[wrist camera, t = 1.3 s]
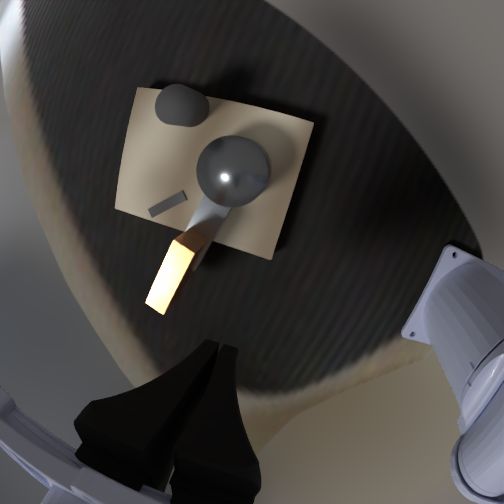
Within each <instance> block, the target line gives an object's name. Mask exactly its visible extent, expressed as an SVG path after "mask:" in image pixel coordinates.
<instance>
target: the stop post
mask: <svg viewBox="0 0 504 504" xmlns="http://www.w3.org/2000/svg"><path fill="white" fill-rule="evenodd" d="M209 108H210V107H209V102H208V99H207V98H206V96H205V95H203V94H202V93H200V92H198V91H196V90H193V89H191V88H189V87H187V86H185V85H182V84H172V85H169V86H167V87H166V88H164V89H163V90H162V91H161V92H160V93H159V95H158V96H157V99H156V102H155V112H156V115H157V117H158V118H159V120H160V121H162V122H163V123H165V124H168V125H176V126H184V127H195V126H198V125H200V124H201V123H202V122H203V121H204V120H205V119H206V118H207V116H208V113H209Z"/></svg>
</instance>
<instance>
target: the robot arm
mask: <svg viewBox="0 0 504 504" xmlns="http://www.w3.org/2000/svg"><path fill="white" fill-rule="evenodd" d="M454 252H456V254H455V256H453V257H452V255H453V253H454ZM412 332H414V333H413V334H411V333H412ZM401 334H402V336H403V337H404V338H407V339H411V340H415V341H419V342H422V343H426V344H430V345H432V346H433V348H434V350H435V353H436V354H437V357H438V359H439V361H440V363H441V365H442V367H443V369H444V372H445V374H446V376H447V378H448V381H449V383H450V385H451V388H452V390H453V392H454V395H455V397H456V400H457V402H458V405H459V407H460V409H461V415H460V417H459V419H458V420H457V423H458V426H459V429H460V432H461V436H460V437H459V439H458V440H457V442H456V443H455V445H454V447H453V450H452V453H451V459H450V469H451V474H452V477H453V481H454V483H455V485H456V487H457V488H458V489H459V491H460V492H461V493H462V494H463V495H464V496H465V497H466V498H468V499H469V500H471V501H473V502H476V503H478V504H504V271H502V270H500V269H499V268H497V267H495V266H493V265H491V264H489V263H487V262H485V261H483V260H481V259H479V258H477V257H475V256H473V255H471V254H469V253H467V252H465V251H463V250H461V249H459V248H457V247H455V246H453V245H446V246H445V247H444V249H443V251H442V254H441V256H440V258H439V260H438V262H437V264H436V267H435V269H434V271H433V273H432V275H431V277H430V279H429V281H428V283H427V285H426V287H425V289H424V291H423V293H422V295H421V296H420V298H419V300H418V302H417V304H416V306H415V308H414V309H413V311H412V313H411V315H410V316H409V318H408V320H407V322H406V323H405V325H404V327H403V328H402V330H401ZM218 348H219V343H218V342H214V341H211V340H204V341H203V342H202V343H201V344H200V345H199V346H198V347H197V348H196V349H195V350H194V351H193V352H192V353H191V354H189V355H188V356H187V357H186V358H185V359H183V360H182V361H181V362H180V363H178V364H177V365H176V366H174V367H173V368H171V369H170V370H168V371H167V372H165V373H164V374H162V375H161V376H159V377H157V378H155V379H154V380H152V381H150V382H148V383H146V384H144V385H142V386H140V387H137V388H135V389H133V390H130V391H127V392H124V393H122V394H118V395H115V396H112V397H108V398H104V399H99V400H94V401H91V402H90V403H89V404H88V405H87V406H86V407H85V408H84V409H83V410H82V411H81V413H80V414H79V416H78V417H77V418H76V419H75V421H74V426H75V429H76V431H77V433H78V435H79V437H80V439H81V440H82V444H81V445H80V447H79V448H78V449H77V450H76V449H75V448H73V447H72V446H70V445H68V444H67V443H65V442H64V441H62V440H61V439H59V438H58V437H56V436H55V435H53V434H52V433H51V432H49V431H48V430H47V429H45V428H44V427H42V426H41V425H40V424H38V423H37V422H36V421H34V420H33V419H32V418H31V417H29V416H28V415H27V414H26V413H24V412H23V411H22V410H21V409H20V408H18V407H17V406H16V404H15V402H14V400H13V399H12V397H11V396H10V395H9V394H8V393H7V392H6V391H5V390H4V389H3V388H2V387H1V386H0V447H1V448H2V449H3V450H5V452H7V453H8V454H9V455H10V456H11V457H12V458H13V459H14V460H15V461H16V462H17V463H18V464H20V465H21V466H22V467H23V468H24V469H25V470H26V471H28V472H29V473H30V474H31V475H32V476H34V477H35V478H36V479H37V480H38V481H40V482H41V483H42V484H44V485H45V486H46V487H47V488H49V489H50V490H49V492H48V493H47V494H46V496H45V497H44V499H43V501H42V502H41V504H253V503H254V499H255V496H256V495H257V494H258V492H259V491H260V489H261V473H260V468H259V461H258V459H257V457H256V455H255V453H254V451H253V449H252V447H251V444H250V442H249V439H248V437H247V434H246V431H245V428H244V425H243V422H242V418H241V414H240V409H239V405H238V399H237V391H236V378H235V366H236V360H237V355H238V349H237V348H236V347H232V346H228V345H225V344H224V345H223V346H222V348H221V350H220V352H219V353H218ZM217 355H218V356H217ZM173 466H174V469H175V470H174V473H173V475H172V477H171V479H170V482H169V484H171V489H172V495H169V494H166V493H164V492H165V489H166V486H167V483H168V480H169V477H170V474H171V472H172V469H173Z"/></svg>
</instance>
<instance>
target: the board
mask: <svg viewBox="0 0 504 504" xmlns="http://www.w3.org/2000/svg"><path fill="white" fill-rule="evenodd" d="M161 91H162V90H160V89H150V88H139V87H138V88H137V92H136V96H135V100H134V104H133V108H132V112H131V116H130V121H129V125H128V130H127V135H126V140H125V145H124V150H123V156H122V161H121V167H120V174H119V180H118V187H117V195H116V203H115V209H118V210H121V211H124V212H127V213H130V214H133V215H136V216H139V217H142V218H145V219H148V220H151V221H154V222H157V223H160V224H163V225H166V226H169V227H172V228H175V229H178V230H181V231H184V232H185V231H186V229H187V227H188V225H189V223H190V221H191V219H192V217H193V215H194V213H195V211H196V209H197V207H198V205H199V203H200V201H201V200H202V198H203V196H204V193H203V191H202V190H201V188H200V186H199V184H198V181H197V175H196V167H197V162H198V158H199V156H200V154H201V152H202V151H203V149H204V148H205V147H206V146H207V145H208V144H209V143H210V142H212V141H213V140H215V139H217V138H219V137H222V136H228V135H236V136H241V137H247V138H250V139H252V140H254V141H256V142H258V143H259V144H260V145H261V146H262V147H263V148H264V149H265V150H266V152H267V153H268V155H269V158H270V161H271V166H272V173H271V178H270V181H269V183H268V185H267V187H266V188H265V190H264V191H263V192H262V193H261V194H260V195H259V196H258V197H257V198H256V199H255V200H253V201H252V202H250V203H249V204H246V205H244V206H241V207H233V208H232V210H231V211H230V213H229V215H228V217H227V218H226V220H225V222H224V224H223V225H222V227H221V229H220V231H219V232H218V234H217V236H216V238H215V239H214V241H215V242H218V243H221V244H224V245H227V246H230V247H233V248H236V249H239V250H242V251H245V252H248V253H251V254H254V255H257V256H260V257H263V258H266V259H269V260H271V259H272V256H273V253H274V250H275V247H276V244H277V240H278V237H279V234H280V231H281V228H282V225H283V222H284V219H285V216H286V212H287V209H288V206H289V203H290V200H291V197H292V194H293V190H294V187H295V184H296V181H297V178H298V174H299V171H300V168H301V165H302V161H303V158H304V155H305V152H306V148H307V145H308V142H309V138H310V135H311V132H312V128H313V125H314V123H313V122H310V121H307V120H304V119H300V118H297V117H293V116H290V115H286V114H283V113H279V112H275V111H272V110H268V109H264V108H260V107H256V106H251V105H247V104H243V103H238V102H233V101H229V100H224V99H219V98H213V97H208V96H206V98H207V99H208V102H209V107H210V108H209V113H208V116H207V118H206V119H205V120H204V121H203V122H202V123H201V124H200V125H198V126H195V127H184V126H176V125H168V124H165V123H163V122H162V121H160V120H159V118H158V117H157V115H156V112H155V102H156V99H157V96H158V95H159V93H160V92H161Z"/></svg>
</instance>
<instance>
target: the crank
mask: <svg viewBox="0 0 504 504" xmlns="http://www.w3.org/2000/svg"><path fill="white" fill-rule="evenodd" d="M271 173H272V166H271V161H270V158H269V155H268V153H267V152H266V150H265V149H264V148H263V147H262V146H261V145H260V144H259V143H258V142H256V141H254V140H252V139H250V138H247V137H241V136H236V135H228V136H222V137H219V138H217V139H215V140H213V141H212V142H210V143H209V144H208V145H207V146H206V147H205V148H204V149H203V151H202V152H201V154H200V156H199V158H198V162H197V167H196V175H197V181H198V184H199V186H200V188H201V190H202V191H203V193H204V196H203V198H202V200H201V201H200V203H199V205H198V207H197V209H196V211H195V213H194V215H193V217H192V219H191V221H190V223H189V225H188V227H187V229H186V231H185V232H184V233H182V234H181V235H180V236H178V237H177V238H175V239H174V240H173V242H172V244H171V246H170V249H169V251H168V253H167V255H166V257H165V259H164V262H163V264H162V266H161V268H160V270H159V273H158V275H157V277H156V279H155V282H154V284H153V286H152V289H151V291H150V293H149V296H148V298H147V300H146V303H147V304H148V305H150V306H151V307H152V308H154V309H155V310H157V311H158V312H160V313H161V314H163V315H164V314H165V312H166V311H167V310H168V309H169V308H170V306H171V305H172V304H173V303H174V302H175V300H176V299H177V298H178V297H179V295H180V293H181V291H182V289H183V287H184V285H185V283H186V282H187V280H188V278H189V276H190V274H191V272H192V270H194V271H196V270H197V269H198V268H199V266H200V265H201V263H202V261H203V259H204V257H205V255H206V254H207V252H208V250H209V248H210V246H211V245H212V243H213V241H214V239H215V238H216V236H217V234H218V232H219V231H220V229H221V227H222V225H223V224H224V222H225V220H226V218H227V217H228V215H229V213H230V211H231V210H232V208H233V207H241V206H244V205H246V204H249V203H250V202H252V201H253V200H255V199H256V198H257V197H258V196H259V195H260V194H261V193H262V192H263V191H264V190H265V188H266V187H267V185H268V183H269V181H270V178H271Z"/></svg>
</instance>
